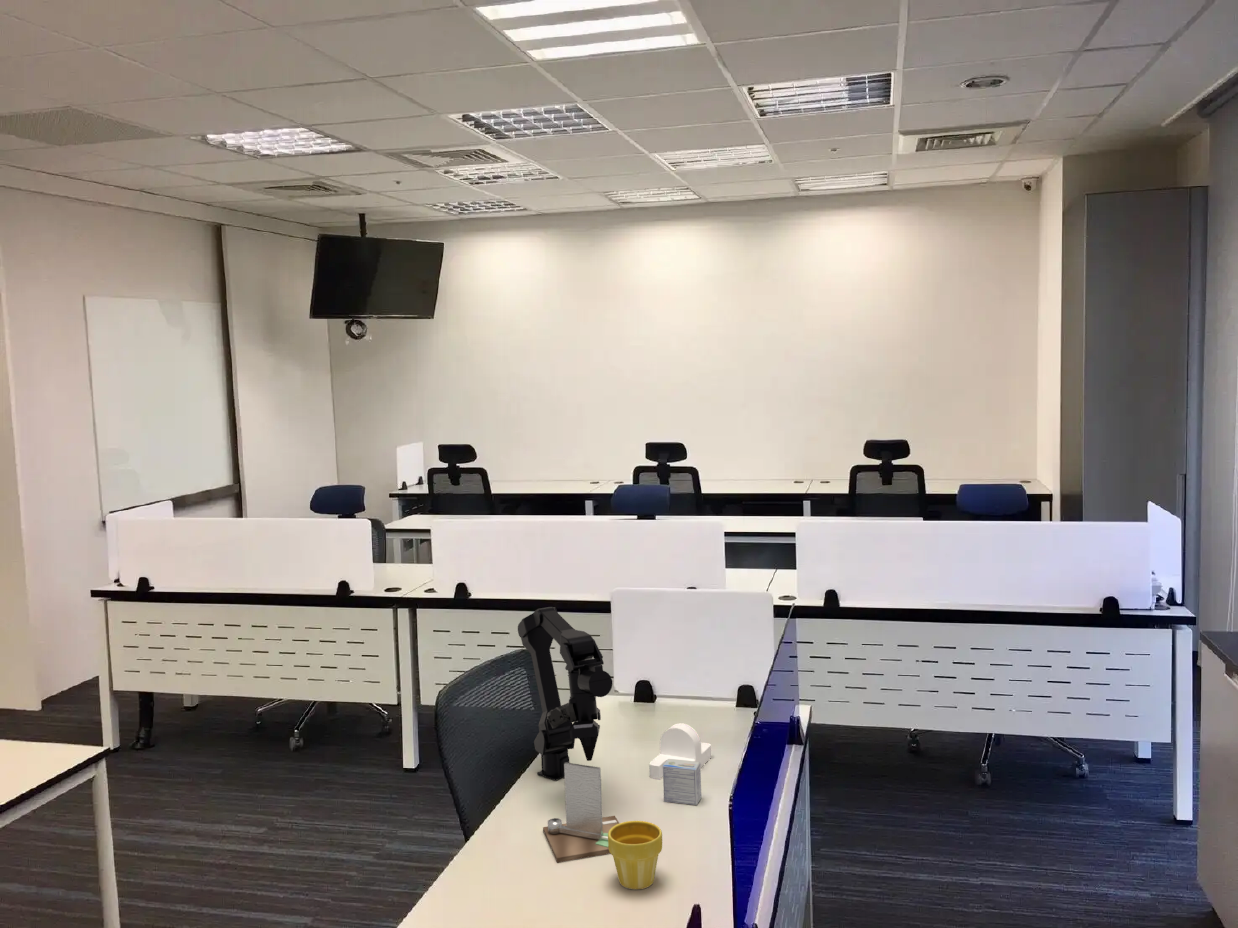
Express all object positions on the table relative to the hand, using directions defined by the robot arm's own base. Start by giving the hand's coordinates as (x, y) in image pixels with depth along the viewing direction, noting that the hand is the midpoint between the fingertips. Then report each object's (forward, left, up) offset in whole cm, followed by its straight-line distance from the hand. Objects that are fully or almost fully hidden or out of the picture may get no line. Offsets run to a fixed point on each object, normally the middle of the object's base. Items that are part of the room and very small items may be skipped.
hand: (589, 760), depth 216 cm
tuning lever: (+10, -14, -9) cm, 20 cm away
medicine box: (+16, +14, -11) cm, 24 cm away
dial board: (+10, -13, -10) cm, 20 cm away
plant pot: (+29, -20, -11) cm, 37 cm away
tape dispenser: (+5, +29, -11) cm, 31 cm away
